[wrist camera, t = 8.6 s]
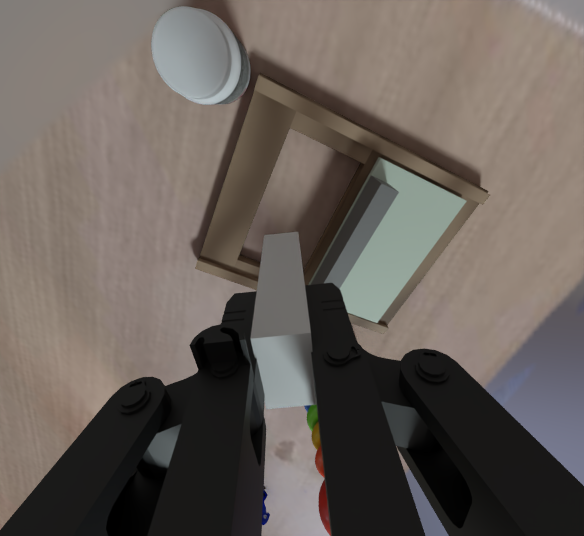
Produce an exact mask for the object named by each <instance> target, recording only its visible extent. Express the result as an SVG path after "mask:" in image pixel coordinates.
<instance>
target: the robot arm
mask: <svg viewBox="0 0 584 536" xmlns="http://www.w3.org/2000/svg"><path fill="white" fill-rule="evenodd" d="M190 348H191V350H192V353H193V356H194V359H195V361H196V364H197V367H198V372H197V373H196V374H194V375H193V376H191V377H188V378H186V379H184V380H181V381H178V382H175V383H173V384H170V385H167V386H165V385H164V384H163V383H162V381H161V380H160V379H157V378H154V377H142V378H139V379H136V380H134V381H131V382H129V383H128V384H126V385H124V386H123V387H121V388H120V389H119V390H118V391H117V392H116V393H115V394H114V395H113V396H112V397H111V398H110V399H109V400H108V401H107V402H106V404H105V405H104V406H103V407H102V408H101V410H100V411H99V412H98V413H97V415H96V416H95V417H94V418H93V419H92V421H91V422H90V423H89V424H88V425H87V427H86V428H85V429H84V430H83V431H82V433H81V434H80V435H79V436H78V437H77V439H76V440H75V441H74V442H73V443H72V445H71V446H70V447H69V448H68V449H67V451H66V452H65V453H64V454H63V455H62V457H61V458H60V459H59V460H58V461H57V463H56V464H55V465H54V466H53V467H52V469H51V470H50V471H49V472H48V473H47V475H46V476H45V477H44V478H43V479H42V481H41V482H40V483H39V484H38V485H37V487H36V488H35V489H34V490H33V491H32V493H31V494H30V495H29V496H28V497H27V499H26V500H25V501H24V502H23V503H22V505H21V506H20V507H19V508H18V509H17V511H16V512H15V513H14V514H13V515H12V517H11V518H10V519H9V520H8V521H7V523H6V524H5V525H4V526H3V527H2V529H1V530H0V536H261V531H262V509H263V487H264V465H265V443H266V424H265V419H264V400H265V405H266V409H274V408H285V407H295V406H306V405H317V414H318V424H319V434H320V442H321V451H322V460H323V469H324V478H325V487H326V496H327V505H328V514H329V523H330V532H331V536H425V533H424V530H423V527H422V524H421V521H420V518H419V515H418V512H417V509H416V506H415V503H414V500H413V497H412V493H411V491H410V487H409V484H408V481H407V478H406V475H405V472H404V469H403V466H402V463H401V460H400V457H399V454H398V451H397V448H398V450H399V451H400V453H401V455H402V456H403V458H404V460H405V462H406V463H407V465H408V467H409V468H410V470H411V472H412V473H413V475H414V477H415V479H416V480H417V482H418V484H419V485H420V487H421V489H422V491H423V492H424V494H425V496H426V497H427V499H428V501H429V503H430V504H431V506H432V508H433V509H434V511H435V513H436V514H437V516H438V518H439V520H440V521H441V523H442V525H443V526H444V528H445V530H446V531H447V533H448V535H449V536H584V486H583V485H582V484H581V483H580V482H579V481H578V480H577V479H576V478H575V477H574V476H573V475H572V474H571V473H570V472H569V471H568V470H567V469H566V468H565V467H564V466H563V465H562V464H561V463H560V462H559V461H557V460H556V458H554V457H553V456H552V455H551V454H550V453H549V452H548V451H547V450H546V449H545V448H544V447H543V446H542V445H541V444H540V443H539V442H538V441H537V440H536V439H535V438H534V437H533V436H532V435H531V434H530V433H529V432H528V431H527V430H526V429H525V428H524V427H523V426H522V425H521V424H520V423H518V421H516V420H515V419H514V418H513V417H512V416H511V415H510V414H509V413H508V412H507V411H506V410H505V409H504V408H503V407H502V406H501V405H500V404H499V403H498V402H497V401H496V400H495V399H494V398H493V397H492V396H491V395H490V394H489V393H488V392H487V391H486V390H485V389H484V388H483V387H482V386H481V385H480V384H479V383H478V382H477V381H476V380H475V379H474V378H472V377H471V376H470V375H469V374H468V373H467V372H466V371H465V370H464V369H463V368H462V367H461V366H460V365H459V364H458V363H457V362H456V361H455V360H453V359H452V358H450V357H449V356H448V355H446V354H443V353H441V352H438V351H436V350H430V349H417V350H412V351H410V352H409V353H407V354H405V355H404V357H403V358H402V360H401V361H398V360H391V359H385V358H381V357H377V356H374V355H372V354H370V353H368V352H367V351H365V350H364V349H363V348H362V347H361V346H360V345H359V344H358V342H357V340H356V338H355V335H354V332H353V328H352V325H351V322H350V319H349V316H348V312H347V309H346V306H345V303H344V301H343V296H342V293H341V290H340V289H339V288H338V287H337V286H335V285H334V284H333V283H323V284H313V285H305V282H304V274H303V266H302V258H301V250H300V242H299V234H298V232H289V233H280V234H271V235H264V241H263V248H262V256H261V263H260V271H259V278H258V286H257V291H256V292H246V293H236V294H234V295H233V296H232V297H231V299H230V300H229V301H228V302H227V304H226V307H225V311H224V315H223V318H222V323H221V325H216V326H212V327H210V328H208V329H206V330H203V331H202V332H201V333H199V334H198V335H197V336H196V337H194V339H193V341H192V342H191V344H190ZM396 446H397V448H396Z"/></svg>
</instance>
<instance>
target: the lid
mask: <svg viewBox="0 0 584 536" xmlns="http://www.w3.org/2000/svg"><path fill="white" fill-rule="evenodd" d="M465 203H466V200H464V199H462V198H460V197H458V196H456V195H454V194H452V193H450V192H448V191H446V190H444V189H442V188H440V187H438V186H436V185H434V184H432V183H430V182H428V181H426V180H424V179H422V178H420V177H418V176H416V175H414V174H412V173H410V172H408V171H406V170H404V169H402V168H400V167H398V166H396V165H394V164H392V163H390V162H388V161H386V160H384V159H382V158H380V157H378V159H377V161H376V163H375V164H374V166H373V168H372V170H371V172H370V174H369V175H368V177H367V179H366V181H365V183H364V184H363V186H362V188H361V190H360V192H359V193H358V195H357V197H356V199H355V201H354V203H353V204H352V206H351V208H350V210H349V212H348V213H347V215H346V217H345V219H344V221H343V223H342V224H341V226H340V228H339V230H338V232H337V233H336V235H335V237H334V239H333V241H332V242H331V244H330V246H329V248H328V250H327V252H326V253H325V255H324V257H323V259H322V261H321V262H320V264H319V266H318V268H317V270H316V271H315V273H314V275H313V277H312V279H311V281H310V282H309V284H308V285H313V284H323V283H333V284H334V285H335V286H337V287H338V288H339V289H340V290H341V293H342V296H343V301H344V303H345V306H346V309H347V312H348V313H350V314H353V315H356V316H358V317H361V318H364V319H367V320H370V321H372V322H375V323H378V321H379V320H380V319H381V317H382V316H383V314H384V313H385V312H386V310H387V309H388V308H389V306H390V305H391V304H392V302H393V301H394V299H395V298H396V297H397V295H398V294H399V293H400V291H401V290H402V289H403V287H404V286H405V284H406V283H407V282H408V280H409V279H410V278H411V276H412V275H413V274H414V272H415V271H416V270H417V268H418V267H419V265H420V264H421V263H422V261H423V260H424V259H425V257H426V256H427V255H428V253H429V252H430V250H431V249H432V248H433V246H434V245H435V244H436V242H437V241H438V240H439V238H440V237H441V235H442V234H443V233H444V231H445V230H446V229H447V227H448V226H449V225H450V223H451V222H452V220H453V219H454V218H455V216H456V215H457V214H458V212H459V211H460V210H461V208H462V207H463V205H464V204H465Z"/></svg>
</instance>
